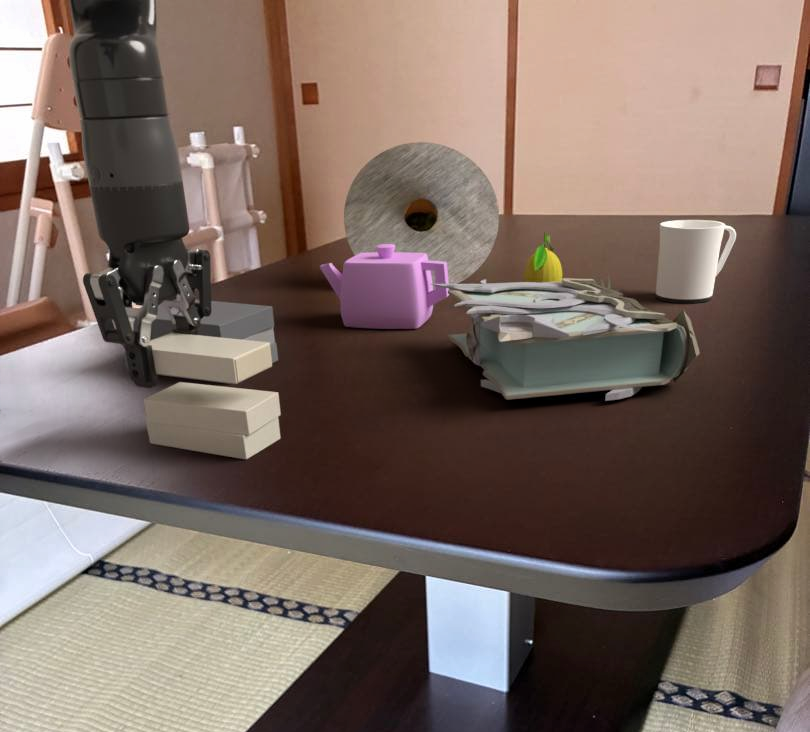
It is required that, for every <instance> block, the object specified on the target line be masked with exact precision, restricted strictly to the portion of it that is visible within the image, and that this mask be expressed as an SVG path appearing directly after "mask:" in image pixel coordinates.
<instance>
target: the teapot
mask: <svg viewBox="0 0 810 732" xmlns="http://www.w3.org/2000/svg"><path fill="white" fill-rule="evenodd" d="M376 250H377V252H367V253H360V254H358V255H356V256H355V255H354V256H351V257H349V258H348V259H347V260H346V261H344V262H343V266H342V272H340V271H339V270H338V269H337V268H336V266H334V264H333V263H332V262H327V263H324V264H321V265H319V269H320V271H321V272H322V274H323V275H324V277H325V279H326V280H327V281H328V283H329V285H330V286H331V288H332V290H333V291H334V293H335V294H336V296H337V298H338V299H339V302H340V317H341V319H342V322H343V325H344V327H346V328H356V329H372V330H373V329H374V330H375V329H377V330H414V329H419V328H420V327H422V326H423V325H424V324H425V323H426V322H427V321H428V320H429V319H430V318H431V316H432V313H433V309H434V305H435V304H437V303H439V302H440V301H443V300H444V299H447V298H448V297H449V296H450V295H449V294H448V290H450V289H449V288H444V287H438V286H435V289H434V290H433V285H431V284H432V277H431V271H430V270H435V284H449V281H448V270H447V262H444V261H430V260H428V257H427V254H426V253H408V252H394V250H395V245H393V244H381V245H377V246H376Z"/></svg>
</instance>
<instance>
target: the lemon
mask: <svg viewBox="0 0 810 732" xmlns="http://www.w3.org/2000/svg"><path fill="white" fill-rule="evenodd" d="M547 243H548V246H549V248H547V247H546V246H547V245H546V244H547ZM553 251H554V247H553V245H552V244H551V236H550V235H549V234H548V235H547V231H544V233H543V243H542V245H539V246H537V247H536V249H535V252H534V253H532V255H531V256H530V257H529V258H528V260H527V263H526V265H525V268H524V274H523V280H524V281H523V282H538V283H541V282H554V281H562V279H563V267H562V264H561V261H560V259H559V258H558V257H559V256H557V255H556V254H555V253H554V252H553Z"/></svg>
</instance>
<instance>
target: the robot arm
mask: <svg viewBox="0 0 810 732" xmlns="http://www.w3.org/2000/svg"><path fill="white" fill-rule="evenodd" d="M68 1H69V2H68V3H69V8H70V15H71V20H72V27H73V37H72V39H71V41H70V43H69V47H68V57H69V58H68V59H69V69H70V76H71V81H72V86H73V91H74V92H73V93H74V97H75V102H76V108H77V113H78V117H79V123H80V134H81V148H82V154H83V155H82V156H83V161H84V166H85V172H86V175H87V180H88V187H89V192H90V197H91V202H92V206H93V212H94V217H95V222H96V228H97V233H98V237H99V239H100V240H101V241H103V242H104V243H105V245H107V247H108V251H109V252H108V253H109V255H108V262H107V268H105V269H103V270H102V271H100V272H98V273H92V272H87V273H84V275H83V277H82V284H83V286H84V289H85V293H86V294H87V297H88V300H89V303H90V306H91V310H92V312H93V314H94V317H95V320H96V323H97V325H98V329H99V332H100V334H101V337H102V339H103V341H104V343H111V344H118V345H121V346H123V348H124V351H125V353H126V357H127V362H128V367H129V370H130V371H128V373H129V377H130V379H131V381H132V382H133V383H134V385H135V386H137V387H139V388H144V389H145V388H146V389H153V388H154V387H157V386H158V384H159V380H158V375H157V374H156V370H155V364H154V358H153V352H152V346H151V345H149V343H150V335H151V325H152V321H154V320H155V319H156V317H157V311H158V305H161V306H162V307H164V308H165V309H166V311H167V313H168V315H169V317H170V319H171V321H172V323H173V324H174V325H175V326H177V328H174V329H172V330H173V333H181V334H191V335H198V330H197V328H198V327H199V326H200V323H201V319H202V318H203V317H204V316H205V317H209V316H210V315H211V301H212V274H211V273H212V272H211V271H212V270H211V269H212V267H211V254H210V251H208V250H207V249H200V248H199V249H198V248H187V247H186V245H185V243H184V241H183V238H185V237H187V236H188V234H189V233H190V230H191V229H190V222H189V216H188V210H187V209H188V208H187V201H186V195H185V187H184V181H183V174H182V167H181V159H180V152H179V148H178V147H179V146H178V143H177V139H176V135H175V132H174V128H173V124H172V120H171V116H170V113H171V112H170V106H169V101H168V100H169V99H168V93H167V86H166V80H165V73H164V68H163V62H162V58H161V54H160V48H159V42H158V40H159V39H158V13H157V10H158V9H157V0H68ZM195 290H198V300H199V303H195V299H196V295H195V292H196V291H195ZM133 304H135V306H141V307H140V308H138V307H133ZM180 309H182V310H180ZM135 319H138V324H137V332H136V331H133V330H134V321H135Z"/></svg>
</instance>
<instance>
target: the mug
mask: <svg viewBox="0 0 810 732" xmlns="http://www.w3.org/2000/svg"><path fill="white" fill-rule="evenodd" d="M725 231H728V233H729V238H728V240H727V242H726V243H725V246H724V248H723V251H722V253H721V255H720V251H721V246H722V241H723V237H724V232H725ZM736 239H737V232H736V229H734V227H732V226H730V225H726V223H724V222H721V221H717V220H707V219H706V220H705V219H677V220H675V219H674V220H667V221H663V222H660V223H659V249H658V261H657V274H656V285H655V286H656V287H655V297H656V299H658V300H659V301H662V302H667V303H672V304H673V303H674V304H701V303H706V302H709V301H711V300H712V298H713V294H714V288H715V282H716V277H718V275H719V274H720V273H721V271H722V269H723V268H724V265H725V264H726V261H727V259H728V257H729V255H730V253H731V251H732V249H733V246H734V243H735V242H736ZM719 257H720V258H719Z"/></svg>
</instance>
